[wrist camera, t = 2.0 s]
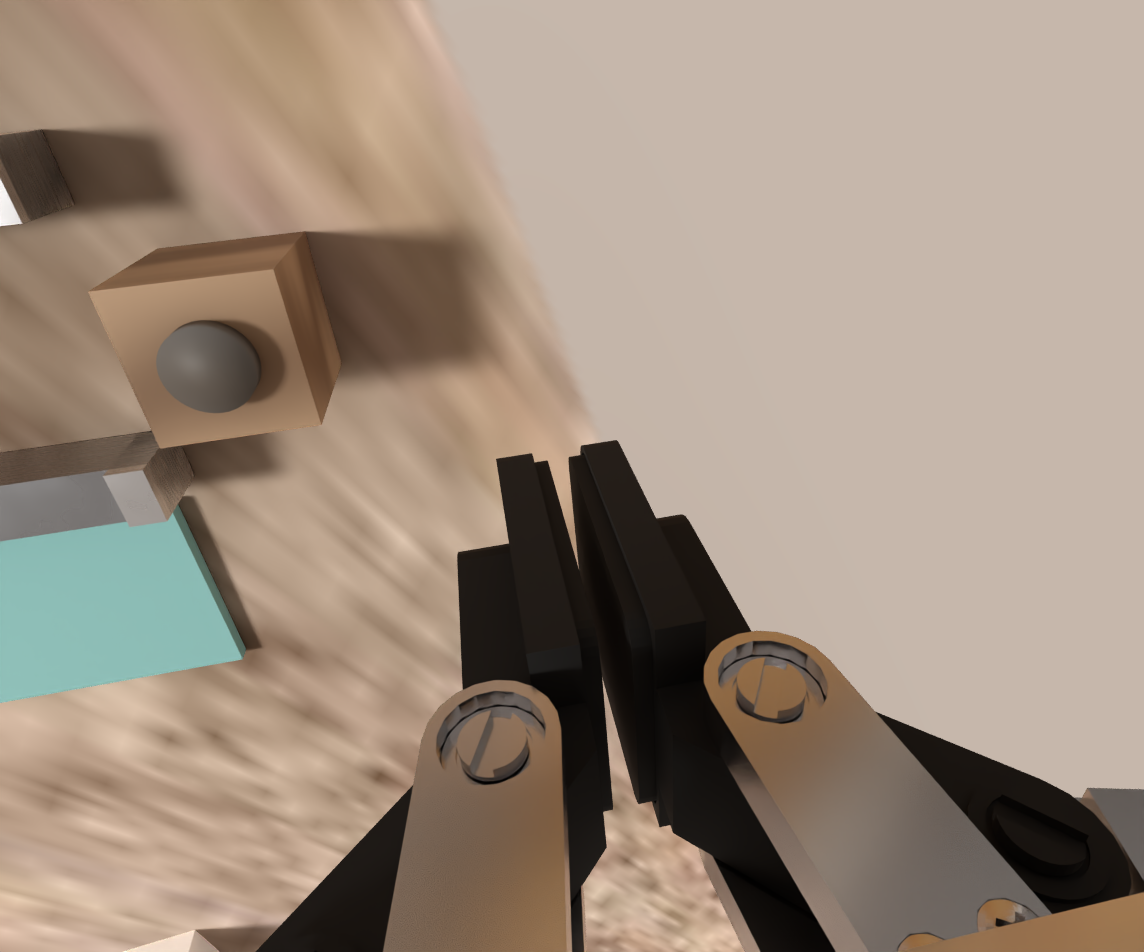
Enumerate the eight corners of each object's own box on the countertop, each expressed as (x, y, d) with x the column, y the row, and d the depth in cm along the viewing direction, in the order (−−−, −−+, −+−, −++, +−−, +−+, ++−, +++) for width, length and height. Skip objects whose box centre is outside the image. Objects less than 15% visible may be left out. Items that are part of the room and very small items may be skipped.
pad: (-115, 541, 24) (-127, 551, 24) (174, 497, 25) (169, 505, 25) (1, 692, 28) (-7, 704, 28) (246, 649, 29) (242, 659, 29)
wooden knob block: (158, 248, 21) (77, 298, 16) (305, 231, 22) (268, 274, 17) (210, 381, 23) (152, 458, 19) (341, 362, 24) (318, 434, 19)
